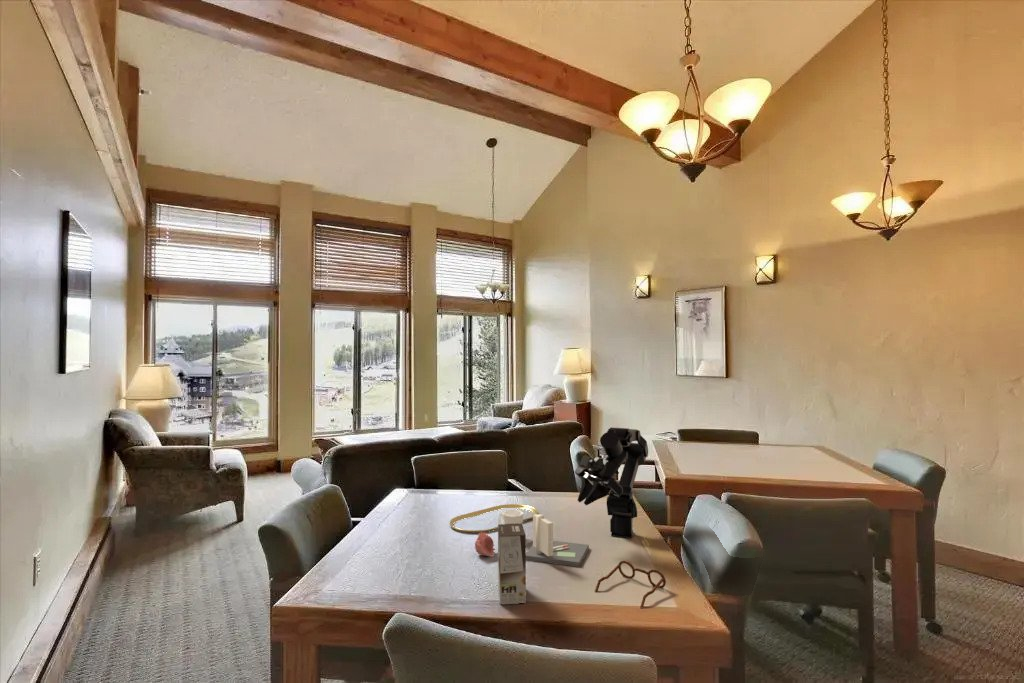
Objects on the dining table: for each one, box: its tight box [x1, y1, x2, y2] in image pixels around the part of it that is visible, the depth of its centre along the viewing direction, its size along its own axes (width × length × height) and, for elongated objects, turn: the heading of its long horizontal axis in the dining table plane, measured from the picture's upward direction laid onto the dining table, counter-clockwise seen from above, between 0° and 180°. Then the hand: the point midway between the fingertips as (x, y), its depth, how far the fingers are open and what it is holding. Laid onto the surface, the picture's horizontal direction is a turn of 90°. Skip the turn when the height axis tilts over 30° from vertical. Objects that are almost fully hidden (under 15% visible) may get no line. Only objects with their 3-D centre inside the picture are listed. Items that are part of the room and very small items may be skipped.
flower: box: [474, 531, 496, 558], centre depth 152 cm, size 8×8×6 cm
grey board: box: [526, 540, 590, 568], centre depth 152 cm, size 16×14×1 cm
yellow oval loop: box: [449, 503, 538, 534], centre depth 184 cm, size 19×35×2 cm, turn 132°
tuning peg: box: [532, 513, 568, 556], centre depth 150 cm, size 9×10×10 cm
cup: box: [498, 509, 525, 525], centre depth 167 cm, size 7×10×8 cm
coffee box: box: [497, 523, 527, 605], centre depth 126 cm, size 9×6×16 cm
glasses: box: [594, 560, 667, 609], centre depth 128 cm, size 13×13×5 cm
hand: (581, 502), depth 157 cm, fingers open, 3 cm apart
